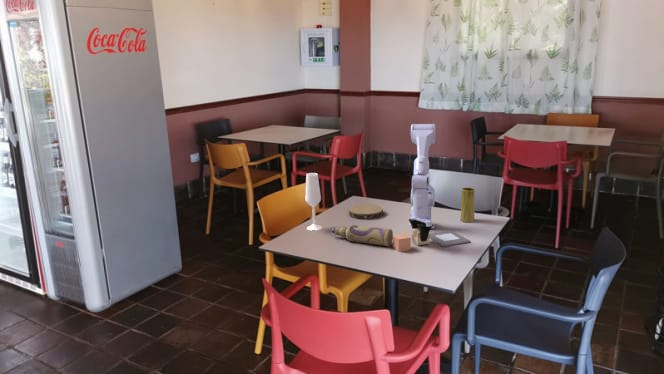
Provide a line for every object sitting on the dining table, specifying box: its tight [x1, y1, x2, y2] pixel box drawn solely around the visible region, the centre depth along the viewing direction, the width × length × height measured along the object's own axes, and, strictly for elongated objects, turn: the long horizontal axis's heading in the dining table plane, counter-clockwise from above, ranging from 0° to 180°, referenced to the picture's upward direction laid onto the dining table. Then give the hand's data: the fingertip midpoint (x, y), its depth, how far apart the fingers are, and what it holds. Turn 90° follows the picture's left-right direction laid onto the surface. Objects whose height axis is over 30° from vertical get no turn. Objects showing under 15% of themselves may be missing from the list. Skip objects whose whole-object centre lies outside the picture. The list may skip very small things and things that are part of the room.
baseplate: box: [429, 229, 472, 248], centre depth 201 cm, size 14×12×1 cm
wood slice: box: [348, 203, 384, 221], centre depth 237 cm, size 16×16×3 cm
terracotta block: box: [392, 233, 412, 253], centre depth 193 cm, size 5×5×5 cm
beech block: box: [411, 228, 430, 246], centre depth 197 cm, size 5×5×5 cm
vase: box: [459, 187, 476, 223], centre depth 221 cm, size 6×6×14 cm
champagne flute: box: [304, 172, 323, 231], centre depth 218 cm, size 7×7×24 cm
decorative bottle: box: [331, 224, 394, 247], centre depth 202 cm, size 26×8×7 cm, turn 61°
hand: (420, 238), depth 197 cm, fingers closed on beech block, 5 cm apart
